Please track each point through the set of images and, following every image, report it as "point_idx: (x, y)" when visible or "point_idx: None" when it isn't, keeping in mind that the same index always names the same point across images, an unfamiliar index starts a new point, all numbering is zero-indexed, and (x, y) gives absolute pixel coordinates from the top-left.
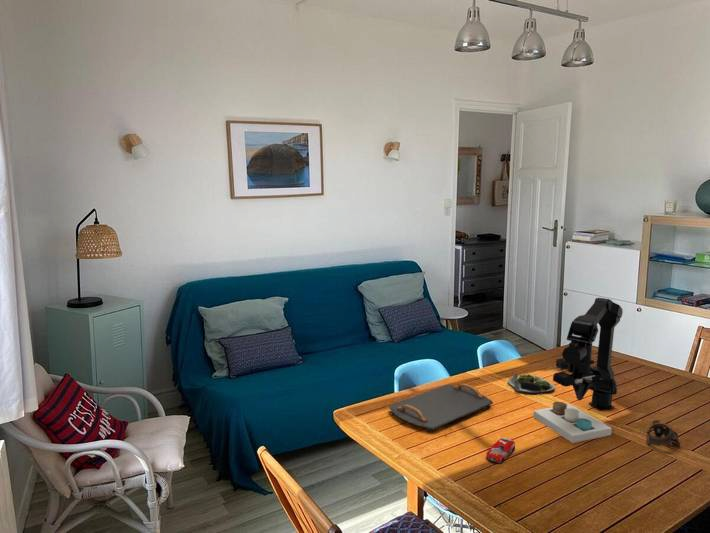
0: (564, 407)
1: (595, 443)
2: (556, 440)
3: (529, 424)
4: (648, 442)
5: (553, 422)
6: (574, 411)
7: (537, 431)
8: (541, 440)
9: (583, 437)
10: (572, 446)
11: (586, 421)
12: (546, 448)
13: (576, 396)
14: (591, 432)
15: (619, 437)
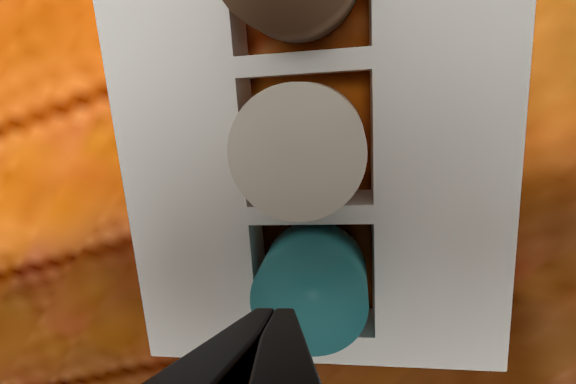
0: (291, 33)
1: None
2: (100, 271)
3: (31, 23)
4: None
5: (127, 150)
6: (317, 169)
7: (41, 136)
8: (17, 242)
9: None
10: None
11: (326, 311)
12: (7, 321)
13: (231, 327)
14: None
15: (514, 376)
